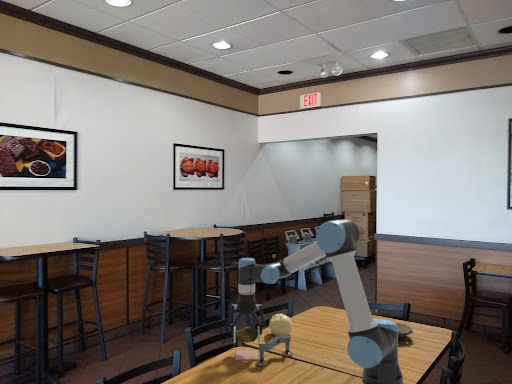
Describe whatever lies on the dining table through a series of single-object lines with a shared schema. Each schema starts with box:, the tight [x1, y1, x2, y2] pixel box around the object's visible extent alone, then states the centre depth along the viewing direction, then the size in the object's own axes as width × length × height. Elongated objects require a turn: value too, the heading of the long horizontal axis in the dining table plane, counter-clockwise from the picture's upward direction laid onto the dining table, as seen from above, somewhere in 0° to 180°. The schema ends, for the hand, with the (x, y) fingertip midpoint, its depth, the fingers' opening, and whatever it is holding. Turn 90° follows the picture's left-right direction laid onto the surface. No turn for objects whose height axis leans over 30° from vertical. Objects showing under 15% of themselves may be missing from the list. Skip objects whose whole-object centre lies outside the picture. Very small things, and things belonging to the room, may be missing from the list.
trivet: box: [234, 349, 259, 361], centre depth 186 cm, size 10×10×1 cm
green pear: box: [236, 326, 258, 344], centre depth 187 cm, size 8×13×8 cm, turn 25°
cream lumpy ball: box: [268, 313, 293, 337], centre depth 215 cm, size 12×12×11 cm
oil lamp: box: [395, 322, 414, 338], centre depth 214 cm, size 22×30×8 cm
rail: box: [255, 335, 294, 367], centre depth 183 cm, size 7×21×8 cm, turn 133°
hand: (246, 342), depth 186 cm, fingers closed on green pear, 10 cm apart
